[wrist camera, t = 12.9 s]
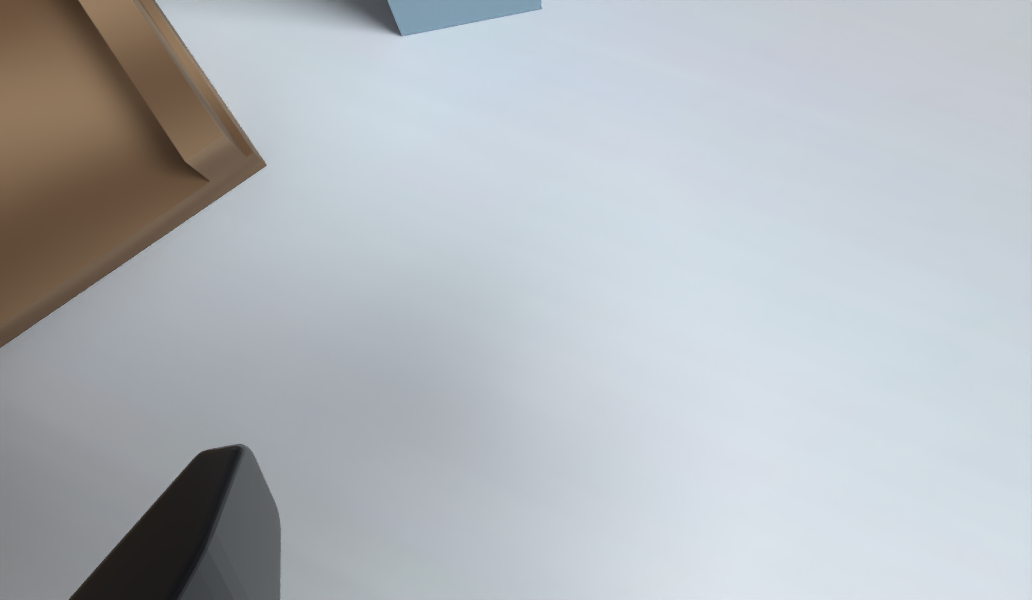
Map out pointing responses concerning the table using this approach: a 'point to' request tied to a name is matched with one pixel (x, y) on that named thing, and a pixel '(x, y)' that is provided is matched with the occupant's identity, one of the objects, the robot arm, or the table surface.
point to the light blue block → (452, 12)
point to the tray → (100, 146)
